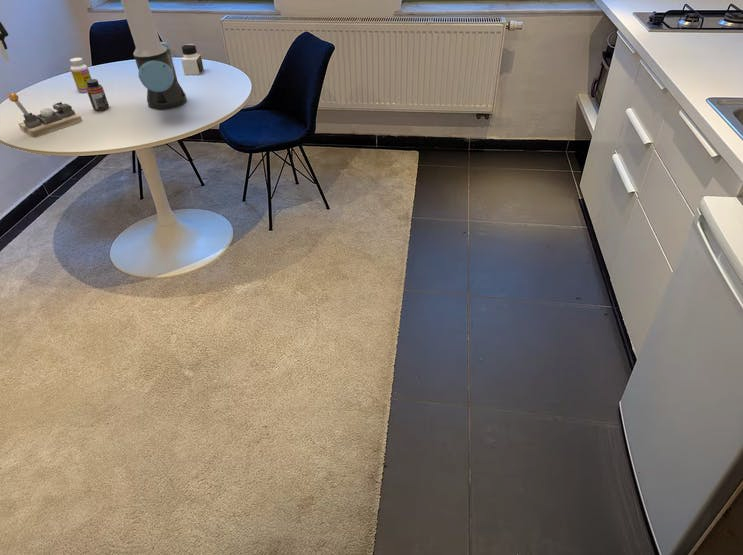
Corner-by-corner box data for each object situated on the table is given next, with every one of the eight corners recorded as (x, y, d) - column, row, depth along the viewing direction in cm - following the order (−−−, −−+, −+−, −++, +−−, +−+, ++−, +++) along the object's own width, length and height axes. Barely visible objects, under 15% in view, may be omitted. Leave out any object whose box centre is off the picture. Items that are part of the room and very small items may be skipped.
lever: (36, 117, 198) (16, 92, 190) (28, 122, 197) (8, 96, 189) (32, 115, 199) (12, 90, 191) (25, 120, 198) (4, 95, 190)
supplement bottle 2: (93, 107, 217) (83, 79, 210) (109, 105, 219) (100, 76, 212) (93, 112, 213) (83, 84, 206) (109, 110, 215) (100, 81, 208)
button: (56, 116, 202) (53, 110, 201) (45, 119, 200) (42, 113, 199) (51, 113, 205) (48, 107, 203) (40, 117, 202) (38, 110, 201)
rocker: (72, 109, 206) (71, 105, 205) (58, 111, 202) (57, 107, 202) (67, 107, 208) (66, 103, 207) (53, 108, 204) (52, 104, 204)
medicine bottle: (200, 75, 245) (194, 47, 238) (184, 75, 246) (177, 47, 238) (204, 69, 251) (198, 42, 243) (188, 70, 251) (182, 43, 244)
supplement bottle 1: (88, 93, 230) (77, 62, 222) (75, 92, 232) (63, 61, 224) (98, 87, 236) (87, 57, 227) (84, 86, 237) (73, 56, 229)
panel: (82, 121, 207) (76, 106, 203) (34, 137, 196) (27, 121, 192) (67, 113, 213) (61, 98, 209) (20, 129, 202) (13, 113, 198)
